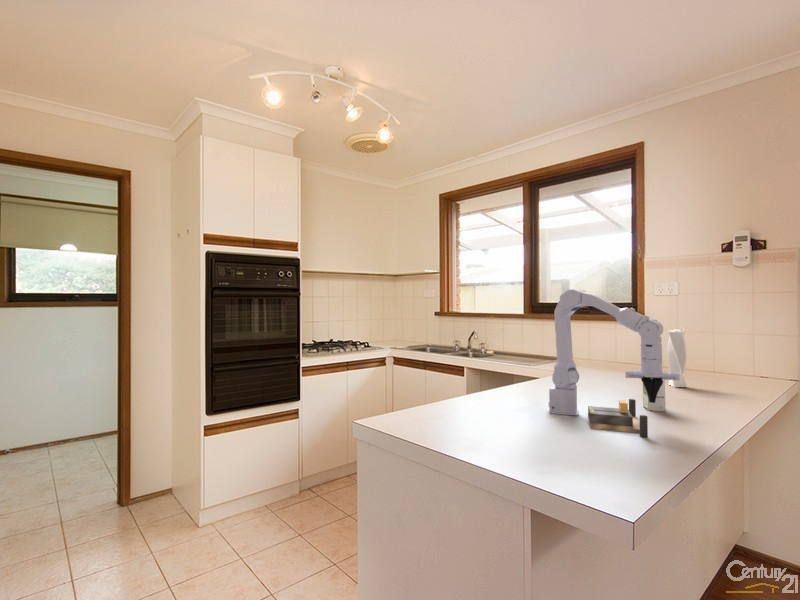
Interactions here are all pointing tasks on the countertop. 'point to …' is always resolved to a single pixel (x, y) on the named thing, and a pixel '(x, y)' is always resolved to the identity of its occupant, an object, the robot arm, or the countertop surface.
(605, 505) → the countertop surface
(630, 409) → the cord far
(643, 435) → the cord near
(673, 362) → the skyscraper
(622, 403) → the orange cuboid
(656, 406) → the syrup box
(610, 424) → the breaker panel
